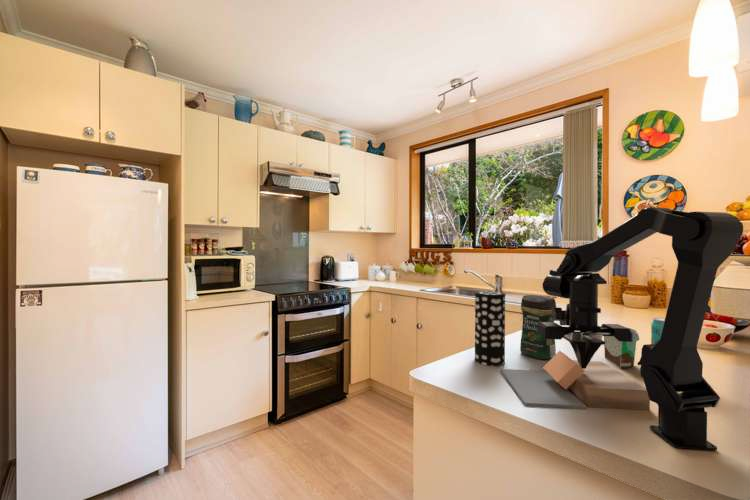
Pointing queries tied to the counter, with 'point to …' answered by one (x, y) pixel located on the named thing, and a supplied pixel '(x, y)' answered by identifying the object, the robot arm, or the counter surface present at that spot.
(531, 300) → the coffee jar
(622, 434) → the counter surface
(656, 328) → the beverage can
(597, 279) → the robot arm
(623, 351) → the food container
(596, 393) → the plate
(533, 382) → the mat
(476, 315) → the white-spotted black cylinder
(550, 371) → the tile
